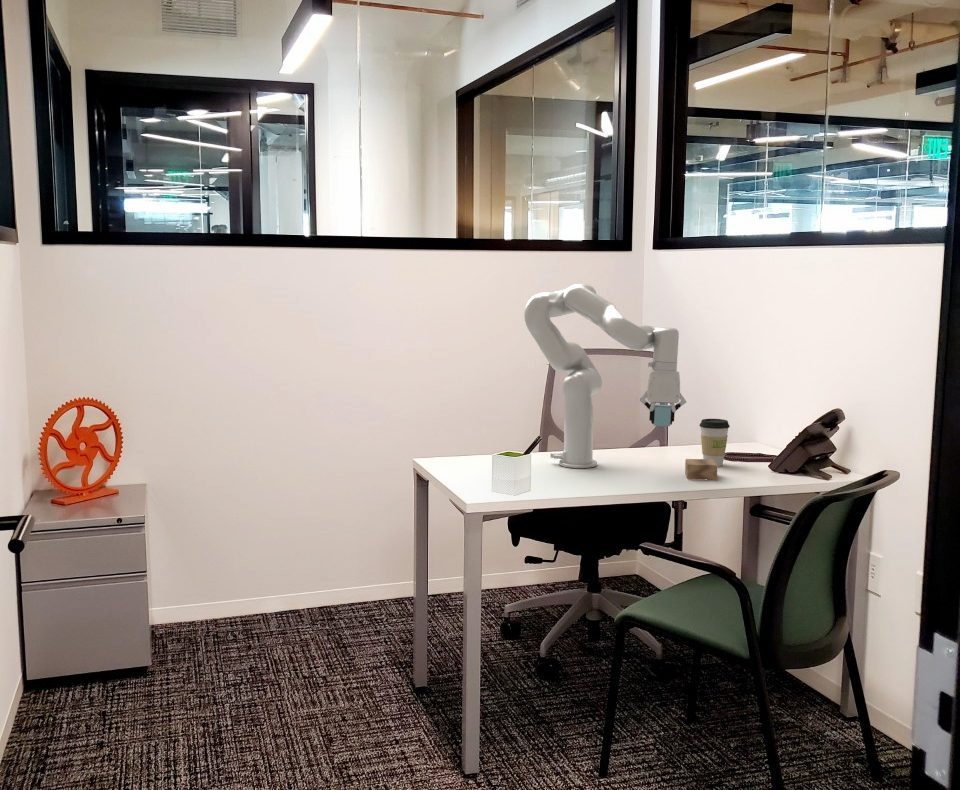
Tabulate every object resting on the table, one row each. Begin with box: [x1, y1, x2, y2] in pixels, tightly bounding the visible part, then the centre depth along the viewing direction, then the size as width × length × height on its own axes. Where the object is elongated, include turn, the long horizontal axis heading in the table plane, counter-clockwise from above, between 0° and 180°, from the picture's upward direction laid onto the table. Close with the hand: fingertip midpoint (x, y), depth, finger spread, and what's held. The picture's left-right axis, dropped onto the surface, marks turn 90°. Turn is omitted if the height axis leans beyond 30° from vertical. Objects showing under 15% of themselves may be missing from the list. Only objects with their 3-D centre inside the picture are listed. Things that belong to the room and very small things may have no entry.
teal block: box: [653, 404, 671, 427], centre depth 295 cm, size 5×5×6 cm
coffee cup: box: [698, 418, 730, 468], centre depth 309 cm, size 10×10×15 cm
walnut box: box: [684, 458, 718, 481], centre depth 291 cm, size 9×9×5 cm
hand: (661, 422), depth 295 cm, fingers closed on teal block, 5 cm apart
